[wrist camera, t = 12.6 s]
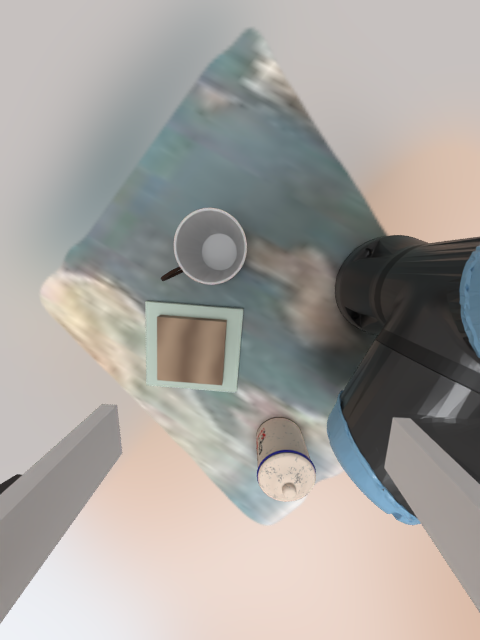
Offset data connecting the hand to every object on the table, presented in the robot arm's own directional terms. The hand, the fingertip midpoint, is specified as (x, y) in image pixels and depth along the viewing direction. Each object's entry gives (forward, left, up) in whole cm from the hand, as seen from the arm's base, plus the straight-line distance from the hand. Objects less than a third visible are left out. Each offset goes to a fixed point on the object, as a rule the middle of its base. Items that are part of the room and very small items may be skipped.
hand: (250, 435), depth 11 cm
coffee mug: (+7, -9, -29) cm, 31 cm away
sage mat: (+9, +7, -29) cm, 31 cm away
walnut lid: (+9, +7, -28) cm, 30 cm away
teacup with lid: (-8, +25, -29) cm, 39 cm away
